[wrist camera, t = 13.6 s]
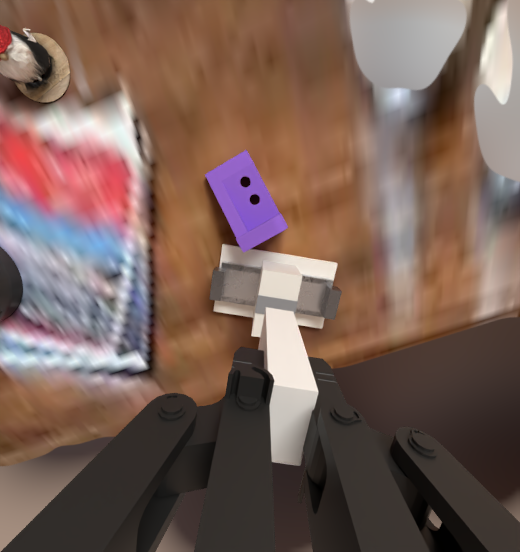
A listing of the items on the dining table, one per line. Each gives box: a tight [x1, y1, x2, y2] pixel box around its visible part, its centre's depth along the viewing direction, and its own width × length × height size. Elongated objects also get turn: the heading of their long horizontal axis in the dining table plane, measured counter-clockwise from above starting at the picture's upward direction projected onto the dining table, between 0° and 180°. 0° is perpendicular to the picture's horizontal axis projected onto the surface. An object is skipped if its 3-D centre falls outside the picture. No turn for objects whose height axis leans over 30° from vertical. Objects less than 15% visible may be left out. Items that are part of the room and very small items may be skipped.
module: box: [251, 260, 302, 337], centre depth 37 cm, size 5×9×7 cm, turn 171°
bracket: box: [205, 150, 288, 253], centre depth 37 cm, size 12×7×7 cm, turn 29°
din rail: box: [210, 261, 342, 320], centre depth 40 cm, size 19×6×4 cm, turn 80°
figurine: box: [0, 25, 71, 102], centre depth 33 cm, size 8×10×12 cm
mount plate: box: [214, 244, 337, 329], centre depth 43 cm, size 18×11×1 cm, turn 81°
